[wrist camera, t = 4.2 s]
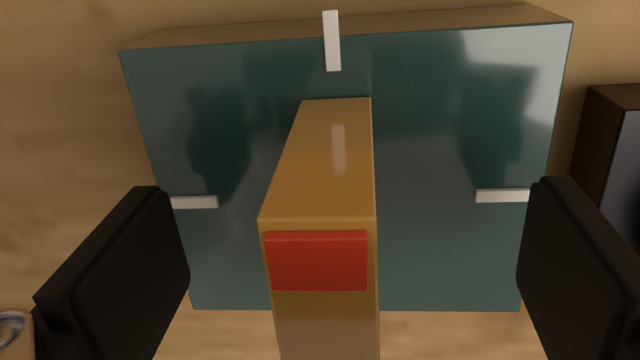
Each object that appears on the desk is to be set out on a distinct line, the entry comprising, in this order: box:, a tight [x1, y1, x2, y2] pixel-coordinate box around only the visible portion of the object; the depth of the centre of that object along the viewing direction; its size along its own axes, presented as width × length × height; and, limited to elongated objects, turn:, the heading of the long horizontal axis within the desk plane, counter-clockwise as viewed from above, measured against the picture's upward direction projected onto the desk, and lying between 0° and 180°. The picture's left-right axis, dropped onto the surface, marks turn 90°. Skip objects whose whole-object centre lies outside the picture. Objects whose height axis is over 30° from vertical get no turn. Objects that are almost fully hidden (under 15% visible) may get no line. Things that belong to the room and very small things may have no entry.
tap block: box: [118, 3, 574, 312], centre depth 14 cm, size 11×10×3 cm
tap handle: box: [256, 97, 380, 360], centre depth 10 cm, size 6×2×6 cm, turn 5°
